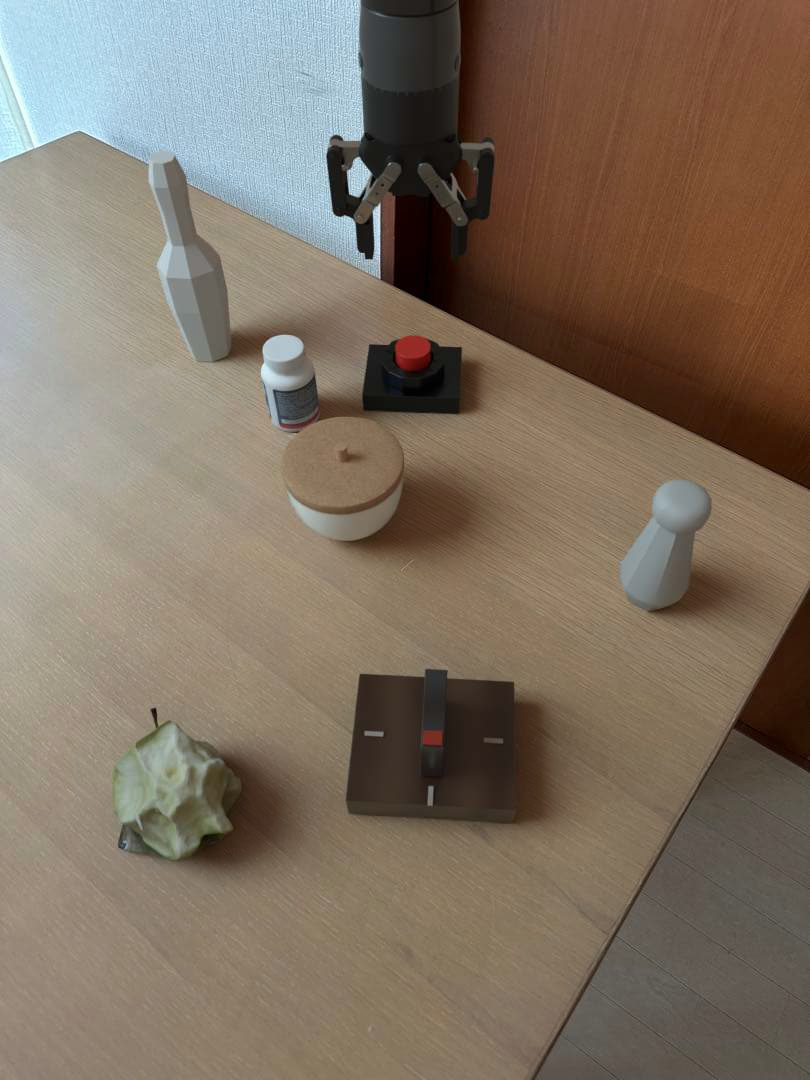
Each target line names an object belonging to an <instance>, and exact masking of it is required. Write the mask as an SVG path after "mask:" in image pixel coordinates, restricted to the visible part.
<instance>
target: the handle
mask: <svg viewBox="0 0 810 1080" xmlns="http://www.w3.org/2000/svg"><path fill="white" fill-rule="evenodd" d="M424 677H425V679H424V695H423V712H422V729H421V746H420V775H421V776H432V777H442V776H443V763H444V743H445V719H446V695H447V678H448V670H447V669H436V668H435V669H434V668H425V670H424Z"/></svg>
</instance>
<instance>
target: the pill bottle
mask: <svg viewBox="0 0 810 1080" xmlns="http://www.w3.org/2000/svg"><path fill="white" fill-rule="evenodd" d="M262 357H263V363H262V366H261V369H260V378H261V384H262V388H263V394H264V397H265V398H264V399H265V402H266V408H267V412H268V416H269V419H270V421H271V423H272V425H274V427H276V428H277V429H278V430H281V431H284V432H289V433H296V432H300V431H301V430H303V429H304V428H306V427H308V426H310V425H311V424H314V423H316V422H318V421H319V418H320V415H321V406H320V400H319V392H318V385H317V379H316V371H315V366H314V363H313V361H312V360H311V359H310V357H308V356H307V354H306V349H305V345H304V342H303V340H302V339H301V338H299V337H298V336H296V335H291V334H278V335H275V336H272V337H270V338H269V339H267V340H266V342H265V343H264V344H263V346H262Z"/></svg>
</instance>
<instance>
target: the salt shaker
mask: <svg viewBox="0 0 810 1080" xmlns="http://www.w3.org/2000/svg"><path fill="white" fill-rule="evenodd" d="M712 505H713V503H712V497H711V496H710V494H709V492H708V491H707V490H706V488H704V487H703V486H701V485H700V484H698V483H697V482H694V481H691V480H688V479H683V478H682V479H671V480H668V481H666V482H664V483H662V484H661V485H660V487H659V488H658V489H657V490H656V491H655V493H654V495H653V497H652V501H651V513H652V514H651V515H652V517H651V519H650V520H649V522H648V523H647V524H646V526H645V528H644V529H643V530H642V532H641V533H640V534H639V536H638V538H637V539H636V540H635V542H634V543H633V545H632V546H631V548H630V549H629V551H628V552H627V553H626V555H625V556H624V558H623V559H622V560H621V562H620V563H619V564H620V565H619V581H620V584H621V585H622V588H623V590H624V592H625V595H626V598H627V601H628V602H630V603H631V604H633V605H635V606H637V607H638V608H640V609H642V610H644V611H646V612H651V611H655V610H659V609H664V608H667V607H669V606H672V605H674V604H675V603H677V602H679V601H681V599H682V598H683V597H684V595H685V593H686V592H687V591H688V589H689V587H690V579H691V572H692V571H691V569H692V562H693V554H694V553H693V552H694V544H695V539H696V538H695V537H696V532H697V531H700V530H701V529H703V528H704V526H705V525H706V523H707V522H708V521H709V518H710V517H711V514H712V510H713V509H712V507H713V506H712Z"/></svg>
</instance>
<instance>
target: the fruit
mask: <svg viewBox="0 0 810 1080" xmlns="http://www.w3.org/2000/svg"><path fill="white" fill-rule="evenodd" d="M150 712H151V716H152V718H153V722H154V726H155V729H154V730H152V731H151V732H150V733H147V734H146V735H144V736H142V737H141V738H139V739H137V740H136V741H135V742H134V743H133V744H132V748H130V749H129V750H127V751H125V752H123V753H121V754H120V755H119V757H118V758H117V760H116V761H115V764H114V767H113V768H114V769H113V774H112V780H113V781H112V793H113V799H112V800H113V801H112V809H113V813H114V815H115V816H116V818H117V819H118V821H119V822H120V824H121V829H120V833H119V838H118V842H117V848H118V849H119V850H121V851H128V852H138V853H146V854H153V855H155V856H159V857H161V858H164V859H167V860H171V861H176V862H177V861H183V860H185V859H188V858H189V857H191V856H192V855H194V854H196V853H197V852H199V851H200V850H203V849H204V848H206V847H208V846H209V845H211V844H213V843H217V842H220V841H221V840H223V838H224V837H225V836H226V834H229V833H230V832H232V831H234V826H233V825H232V824H233V823H232V822H231V820H230V819H229V815H230V814H231V812H232V810H233V808H234V807H235V805H236V803H237V801H238V800H239V796H240V793H241V792H242V782H241V779H240V778H239V777H238V776H235V775H234V772H233V771H232V770H231V769H230V768H229V767H228V766H227V765H226V763H225V761H224V759H223V758H222V757H221V755H220V754H219V751H218V749H217V748H216V747H215V746H214V745H212V744H211V743H210V742H208V741H202V740H201V741H200V740H195V739H194V738H192V736H189V735H188V734H187V733H186V731H184V730H183V729H182V728H181V727H180V725H179V724H178V723H177V722H175V721H173V720H165V721H164V722H162V723H160V724H159V723H158V711H157V707H151V708H150Z"/></svg>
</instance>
